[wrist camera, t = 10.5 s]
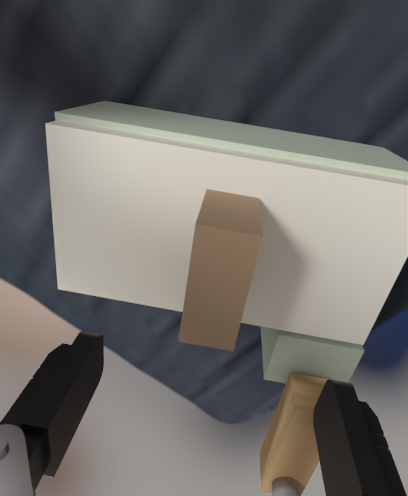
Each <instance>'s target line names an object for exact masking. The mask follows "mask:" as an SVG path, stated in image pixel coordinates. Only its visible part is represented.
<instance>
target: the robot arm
mask: <svg viewBox="0 0 408 496" xmlns="http://www.w3.org/2000/svg"><path fill="white" fill-rule="evenodd" d="M103 356H104V354H103V335H99V334H94V333H88V332H83V331H82V332H80V333H79V334H78V336H77V337H76V339H75V340H74V342H73V344H72V345H68V344H61V345H60V346H58V347H57V348H56V349H54V350H53V351H52V352H50V353H49V354H48V356H47V357H46V359H45V360H44V362H43V363H42V364H41V366H40V368H39V369H38V370H37V371H36V373H35V374H34V376H33V379H31V380H30V381H29V383H28V384H27V386H26V387H25V388H24V390H23V391H22V393H21V394H20V396H19V397H18V398H17V400H16V401H15V403H14V404H13V406H12V407H11V408H10V410H9V411H8V413H7V414H6V416H5V417H4V418H3V420H2V421H1V422H0V496H36V493H35V490H36V488H37V486H38V484H39V481H40V479H41V478H42V476H43V475H48V476H53V477H54V476H55V474H56V471H57V469H58V468H59V465H60V463H61V461H62V459H63V457H64V455H65V453H66V451H67V449H68V447H69V445H70V442H71V440H72V438H73V436H74V434H75V432H76V430H77V428H78V425H79V424H80V421H81V419H82V417H83V415H84V413H85V411H86V409H87V407H88V405H89V402H90V401H91V398H92V396H93V394H94V392H95V390H96V388H97V386H98V384H99V381H100V379H101V376H102V371H103V365H104V357H103ZM313 426H314V432H315V437H316V443H317V448H318V454H319V459H320V464H321V470H322V476H323V481H324V487H325V492H326V496H407V495H406V493H405V490H404V487H403V485H402V482H401V479H400V476H399V474H398V471H397V469H396V466H395V463H394V460H393V458H392V455H391V453H390V450H388V444H387V441H386V439H385V437H384V436H383V434H384V433H383V431H382V428H381V425H380V423H379V420H378V417H377V416H376V415H375V413H374V412H373V411H372V409H371V408H370V407H369V405H368V404H367V403H366V402H361V401H358V398H357V395H356V392H355V389H354V387H353V385H352V384H351V383H348V382H342V381H337V380H332V379H328V380H327V381H326V383H325V385H324V387H323V389H322V392H321V394H320V396H319V398H318V401H317V403H316V405H315V408H314V412H313Z"/></svg>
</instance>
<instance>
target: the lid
mask: <svg viewBox="0 0 408 496" xmlns="http://www.w3.org/2000/svg"><path fill="white" fill-rule="evenodd" d="M45 127H46V140H47V153H48V166H49V179H50V192H51V205H52V217H53V230H54V243H55V256H56V269H57V282H58V289H60V290H66V291H71V292H77V293H82V294H88V295H93V296H99V297H104V298H109V299H115V300H120V301H126V302H131V303H137V304H142V305H147V306H153V307H158V308H164V309H169V310H175V311H180V312H183V313H182V320H181V327H180V334H179V342H185V343H190V344H195V345H201V346H206V347H212V348H217V349H222V350H228V351H234V347H235V343H236V339H237V335H238V331H239V327H240V323H245V324H251V325H256V326H262V327H267V328H273V329H278V330H283V331H289V332H294V333H300V334H305V335H311V336H316V337H321V338H327V339H332V340H338V341H343V342H349V343H354V344H360V345H364V343H365V341H366V339H367V337H368V335H369V333H370V331H371V329H372V327H373V325H374V323H375V321H376V319H377V317H378V315H379V313H380V311H381V309H382V307H383V305H384V303H385V301H386V299H387V297H388V295H389V293H390V291H391V289H392V287H393V285H394V283H395V281H396V279H397V277H398V275H399V273H400V271H401V269H402V267H403V265H404V263H405V261H406V259H407V257H408V179H403V178H397V177H391V176H385V175H379V174H374V173H368V172H362V171H356V170H350V169H344V168H338V167H332V166H327V165H321V164H315V163H309V162H303V161H297V160H291V159H285V158H280V157H274V156H268V155H262V154H256V153H250V152H244V151H238V150H233V149H227V148H221V147H215V146H209V145H203V144H197V143H191V142H186V141H180V140H174V139H168V138H162V137H156V136H150V135H144V134H139V133H133V132H127V131H121V130H115V129H109V128H103V127H97V126H92V125H86V124H80V123H74V122H68V121H62V120H56V121H52V122H49V123H45Z"/></svg>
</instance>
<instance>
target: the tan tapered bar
mask: <svg viewBox="0 0 408 496" xmlns="http://www.w3.org/2000/svg"><path fill="white" fill-rule="evenodd" d="M327 380H328V379H325V378H320V377H314V376H309V375H304V374H298V373H293V372H290V374H289V377H288V380H287V382H286V385H285V388H284V390H283V393H282V396H281V398H280V401H279V403H278V406H277V409H276V411H275V414H274V417H273V419H272V422H271V425H270V427H269V430H268V433H267V435H266V438H265V440H264V443H263V446H262V448H261V451H260V470H261V491H265V492H270V493H273V496H301V494H302V492H303V490H304V489H305V487H306V485H307V483H308V481H309V479H310V477H311V475H312V473H313V472H314V470H315V468H316V466H317V464H318V462H319V460H320V459H319V454H318V448H317V443H316V437H315V432H314V426H313V412H314V408H315V405H316V403H317V401H318V398H319V396H320V394H321V392H322V389H323V387H324V385H325V383H326V381H327Z"/></svg>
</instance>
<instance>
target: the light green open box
mask: <svg viewBox="0 0 408 496" xmlns="http://www.w3.org/2000/svg"><path fill="white" fill-rule="evenodd" d="M56 120H62V121H68V122H74V123H80V124H86V125H92V126H97V127H103V128H109V129H115V130H121V131H127V132H133V133H139V134H144V135H150V136H156V137H162V138H168V139H174V140H180V141H186V142H191V143H197V144H203V145H209V146H215V147H221V148H227V149H233V150H238V151H244V152H250V153H256V154H262V155H268V156H274V157H280V158H285V159H291V160H297V161H303V162H309V163H315V164H321V165H327V166H332V167H338V168H344V169H350V170H356V171H362V172H368V173H374V174H379V175H385V176H391V177H397V178H403V179H408V161H406V160H404V159H403V158H401V157H399V156H397V155H396V154H394V153H392V152H390V151H389V150H387V149H385V148H383V147H378V146H372V145H366V144H360V143H354V142H348V141H342V140H336V139H330V138H324V137H318V136H312V135H306V134H300V133H294V132H288V131H282V130H277V129H271V128H265V127H259V126H253V125H247V124H241V123H235V122H229V121H223V120H217V119H211V118H205V117H199V116H193V115H187V114H181V113H175V112H169V111H163V110H157V109H152V108H146V107H140V106H134V105H128V104H122V103H116V102H110V101H101V102H97V103H92V104H88V105H83V106H79V107H75V108H70V109H66V110H62V111H57V112H55V121H56ZM261 339H262V355H263V372H264V379H265V380H270V381H275V382H281V383H286V382H287V380H288V377H289V374H290V372H293V373H298V374H304V375H309V376H314V377H320V378H325V379H332V380H337V381H342V382H348V383H349V380H350V379H351V377H352V375H353V373H354V370H355V369H356V367H357V365H358V363H359V361H360V359H361V357H362V355H363V353H364V349H363V346H362V345H360V344H354V343H349V342H343V341H338V340H332V339H327V338H321V337H316V336H311V335H305V334H300V333H294V332H289V331H283V330H278V329H273V328H267V327H262V326H261Z"/></svg>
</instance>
